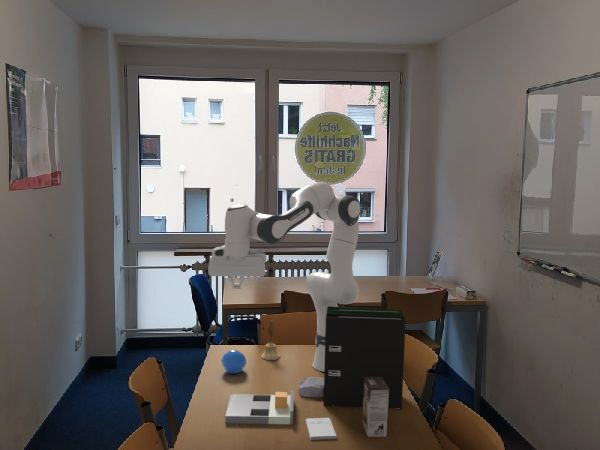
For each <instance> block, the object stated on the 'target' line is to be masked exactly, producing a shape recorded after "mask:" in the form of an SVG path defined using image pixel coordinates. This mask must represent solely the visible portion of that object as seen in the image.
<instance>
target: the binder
mask: <svg viewBox="0 0 600 450" xmlns="http://www.w3.org/2000/svg"><path fill="white" fill-rule="evenodd" d="M405 318H406V317H405V316H404V312H403V310H402V309H393V308H370V307H350V306H349V307H348V306H338V307H333V306H327V313H326V331H325V369H324V372H323V373H324V374H323V375H324V376H323V377H324V378H323V379H324V396H323V406H324V407H339V408H340V407H344V408H345V407H346V408H363V388H364V377H383V379H384V381H385V382H386V384H387V386H388V387H389V399H388V408H402V407H403V387H404V368H405V367H404V364H405V344H406V343H405V342H406V341H405V340H406V319H405ZM402 409H403V408H402Z"/></svg>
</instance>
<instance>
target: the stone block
mask: <svg viewBox="0 0 600 450" xmlns="http://www.w3.org/2000/svg"><path fill="white" fill-rule="evenodd" d="M298 384H299V385H298V386H297V388H298V393H299V395H300V396H301V397H304V398H311V397H312V398H324V378H323V377H317V376H310V377H305V378H302V379H301V380H300V382H299V383H298Z"/></svg>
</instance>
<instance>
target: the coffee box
mask: <svg viewBox="0 0 600 450" xmlns="http://www.w3.org/2000/svg"><path fill="white" fill-rule="evenodd" d="M388 399H389V387H388V386H387V384H386V382H385V381H384V379H383V377H364V388H363V407H362V426H363V429H364V431H365V434H366V435H367V437H368V438H369V437H370V438H373V437H374V438H377V437H378V438H379V437H380V438H381V437H387V435H388V434H387V433H388V418H389V417H388V416H389V415H388V413H389V409H388Z"/></svg>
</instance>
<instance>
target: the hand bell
mask: <svg viewBox="0 0 600 450" xmlns="http://www.w3.org/2000/svg"><path fill="white" fill-rule="evenodd" d="M267 329H268V343H266V344H265V348H264V352H263V353H262V354H261V356H260V358H261V359H262V360H266V361H276V360H279V359H280V358H281V355H280V353H279V352H278V351H277V346H276V344H275V343H274V341H273V340H274V339H273V338H274V333H275V324H274V320H270V321H269V323H268V327H267Z"/></svg>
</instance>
